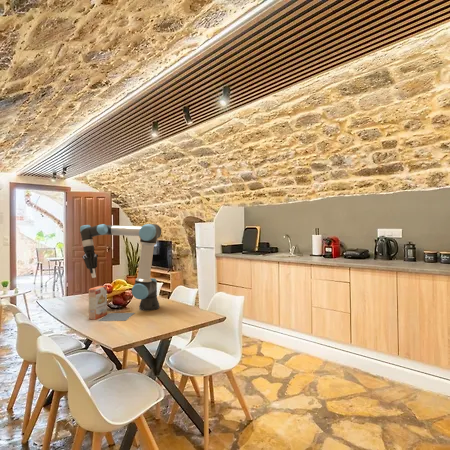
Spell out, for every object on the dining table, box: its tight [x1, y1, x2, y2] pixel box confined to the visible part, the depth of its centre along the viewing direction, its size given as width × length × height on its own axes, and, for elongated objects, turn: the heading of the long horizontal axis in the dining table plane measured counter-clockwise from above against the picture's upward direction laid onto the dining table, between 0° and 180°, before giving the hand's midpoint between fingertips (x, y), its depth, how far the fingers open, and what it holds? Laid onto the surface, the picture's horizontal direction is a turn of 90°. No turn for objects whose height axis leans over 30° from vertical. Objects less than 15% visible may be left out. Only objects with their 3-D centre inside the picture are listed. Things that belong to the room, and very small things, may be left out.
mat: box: [97, 312, 135, 322], centre depth 236 cm, size 19×20×1 cm
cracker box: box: [88, 285, 108, 320], centre depth 237 cm, size 14×6×21 cm, turn 168°
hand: (94, 277), depth 248 cm, fingers closed
